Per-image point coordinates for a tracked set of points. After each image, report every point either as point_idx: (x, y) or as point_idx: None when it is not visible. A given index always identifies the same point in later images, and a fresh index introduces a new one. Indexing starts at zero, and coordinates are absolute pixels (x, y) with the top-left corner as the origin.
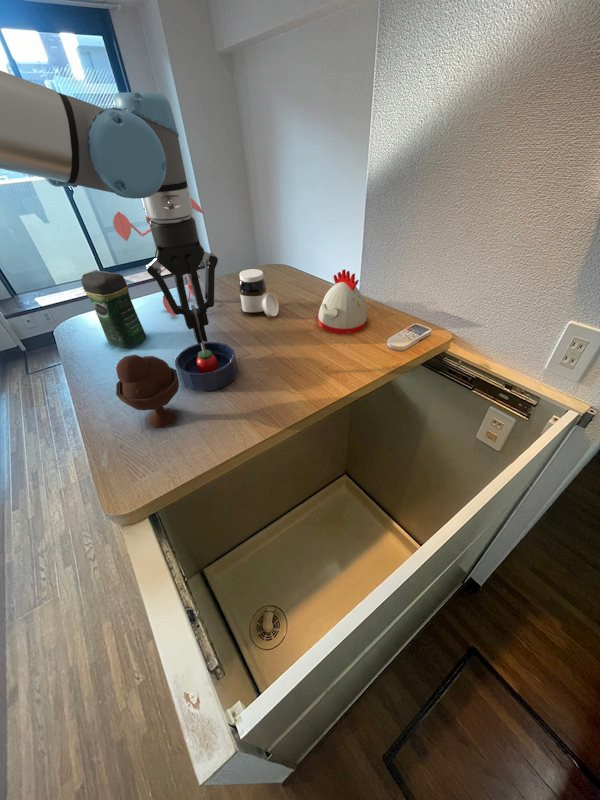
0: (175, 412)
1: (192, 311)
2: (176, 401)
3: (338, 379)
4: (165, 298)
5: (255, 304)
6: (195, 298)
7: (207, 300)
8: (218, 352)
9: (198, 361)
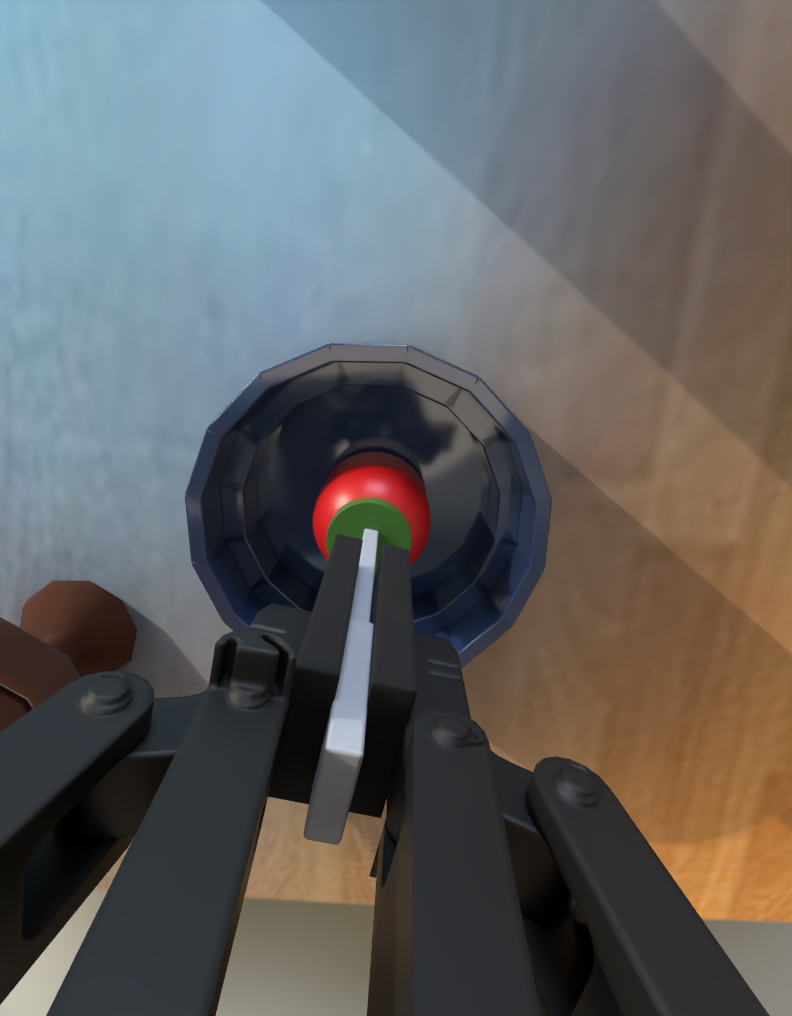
0: (136, 632)
1: (326, 723)
2: (162, 571)
3: (757, 857)
4: None
5: None
6: (407, 835)
7: (530, 889)
8: (489, 440)
9: (318, 535)
